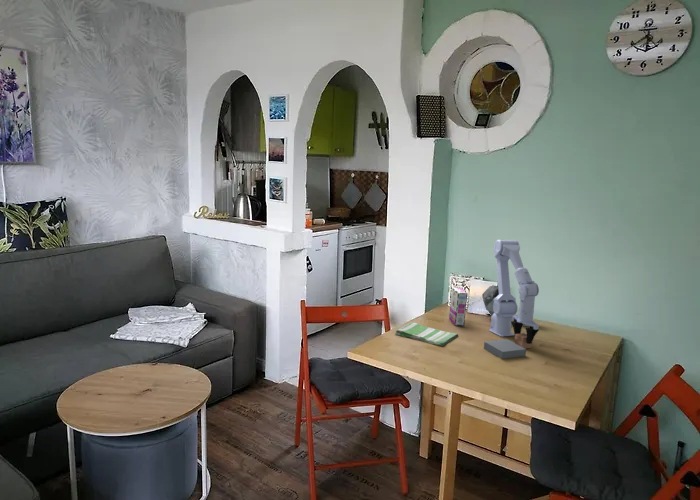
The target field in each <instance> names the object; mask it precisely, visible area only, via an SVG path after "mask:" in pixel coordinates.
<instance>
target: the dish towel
mask: <svg viewBox="0 0 700 500" xmlns="http://www.w3.org/2000/svg"><path fill="white" fill-rule="evenodd" d="M395 335H398V336H401V337H404V338H409V339H413V340H417V341H421V342H424V343H427V344H430V345H431V344H432V345H435V346H441V347H443V346H445V345H446V344H448V343H449V342H450V341H452V340H454V339H457V338H458V337H459V334H458V333H456V332H449V331H444V330H440V329H437V328H433V327H430V326H426V325H424V324H423V325H422V324H420V323H416V322H414V321H412V322H410V323H407V324H406V325H404V326H402V327H400V328H399V329H396V330H395Z"/></svg>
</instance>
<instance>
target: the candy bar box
mask: <svg viewBox="0 0 700 500" xmlns="http://www.w3.org/2000/svg"><path fill="white" fill-rule="evenodd" d="M450 294H451V296H450V302H449V303H450V304H449V305H450V306H449V315H448V320H450V322H451V323H452V324H453V325H454V326H456V327H457V326H458V327H459V326H460V327H464V326H465V324H466V323H465V322H466V319H465V318H466V313H467V311H466V310H467V303H468V293H467V292H466V291H465V290H464V289H462V288H461V287H451V293H450Z"/></svg>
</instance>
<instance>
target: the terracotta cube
mask: <svg viewBox="0 0 700 500" xmlns="http://www.w3.org/2000/svg"><path fill="white" fill-rule="evenodd" d="M513 343H515V344H517V345H519V346H521V347H523V348H525V349H530V348H532V343H531V344H527V333H526V332H523V333H522V332H521V333H520V334H515V335H514V341H513Z"/></svg>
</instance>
